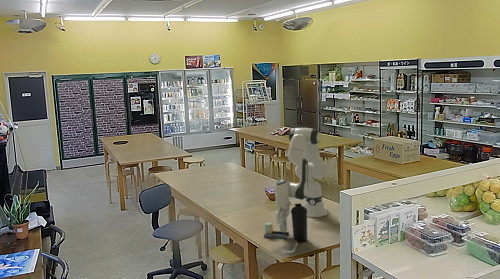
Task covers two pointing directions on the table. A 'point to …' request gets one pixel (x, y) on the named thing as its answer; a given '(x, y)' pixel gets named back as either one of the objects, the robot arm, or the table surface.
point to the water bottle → (299, 223)
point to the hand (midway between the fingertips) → (283, 226)
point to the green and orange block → (268, 228)
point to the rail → (277, 235)
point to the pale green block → (284, 226)
